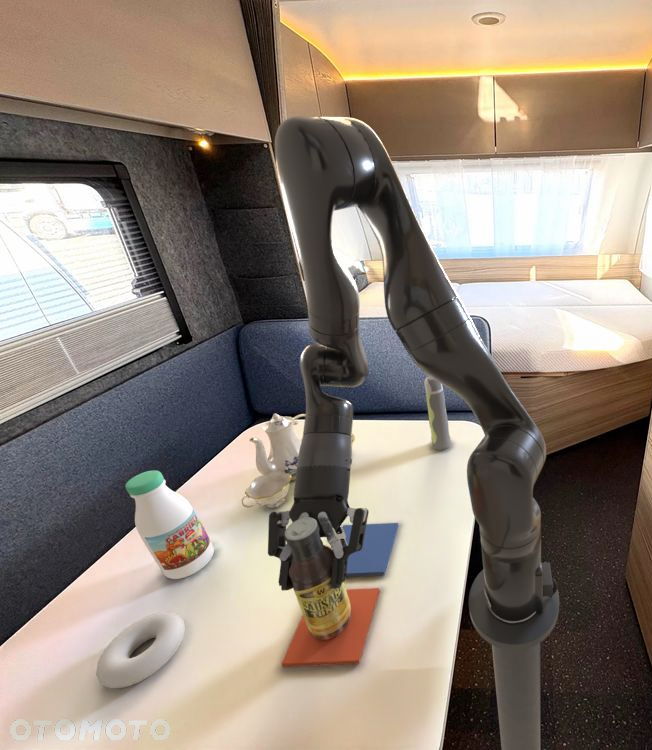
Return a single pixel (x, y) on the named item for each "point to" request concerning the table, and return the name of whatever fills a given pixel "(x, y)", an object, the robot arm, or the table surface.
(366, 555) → the slate-blue mat
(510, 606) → the robot arm
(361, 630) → the terracotta mat
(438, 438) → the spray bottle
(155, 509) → the milk bottle
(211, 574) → the table surface
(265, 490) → the chinaware
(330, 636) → the sauce bottle
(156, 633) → the donut
